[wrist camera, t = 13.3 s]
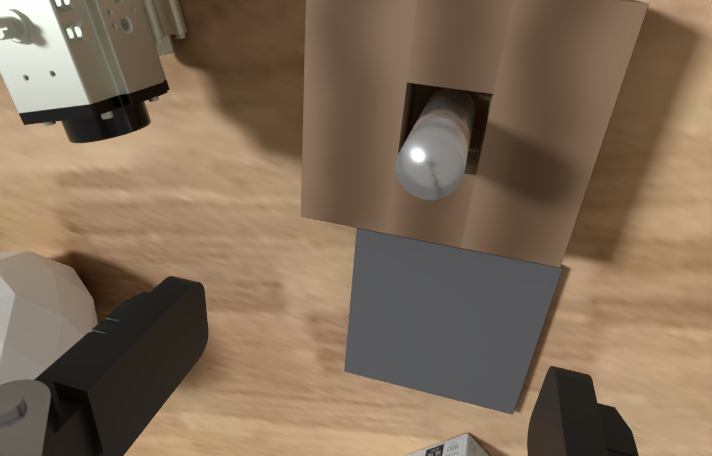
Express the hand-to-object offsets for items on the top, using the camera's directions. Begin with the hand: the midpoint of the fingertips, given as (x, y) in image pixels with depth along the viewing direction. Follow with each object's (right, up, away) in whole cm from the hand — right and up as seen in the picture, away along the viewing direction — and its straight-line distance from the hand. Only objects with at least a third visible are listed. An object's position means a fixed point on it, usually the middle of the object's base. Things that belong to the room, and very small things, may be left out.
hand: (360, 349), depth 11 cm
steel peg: (+6, +10, +19) cm, 22 cm away
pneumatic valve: (-12, +17, +20) cm, 29 cm away
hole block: (+6, +10, +19) cm, 22 cm away
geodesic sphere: (-28, -3, +36) cm, 45 cm away
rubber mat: (+6, -4, +26) cm, 27 cm away
